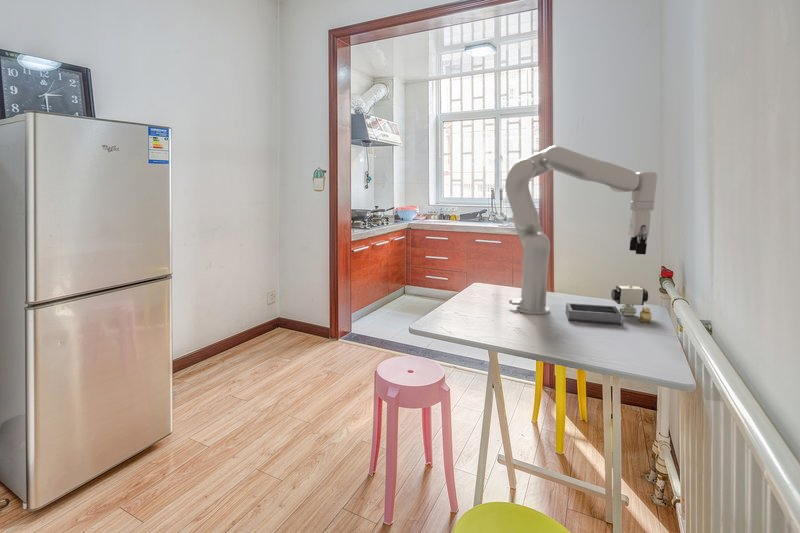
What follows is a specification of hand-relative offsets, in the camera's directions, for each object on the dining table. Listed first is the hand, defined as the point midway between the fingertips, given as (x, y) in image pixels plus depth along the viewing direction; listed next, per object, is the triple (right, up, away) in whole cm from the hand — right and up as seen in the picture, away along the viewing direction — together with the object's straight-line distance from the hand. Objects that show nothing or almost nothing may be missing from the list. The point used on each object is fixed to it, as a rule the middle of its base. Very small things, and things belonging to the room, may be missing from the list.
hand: (637, 252), depth 157 cm
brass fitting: (+1, -26, -4) cm, 26 cm away
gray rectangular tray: (-17, -25, 0) cm, 30 cm away
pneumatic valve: (-1, -24, +5) cm, 25 cm away
